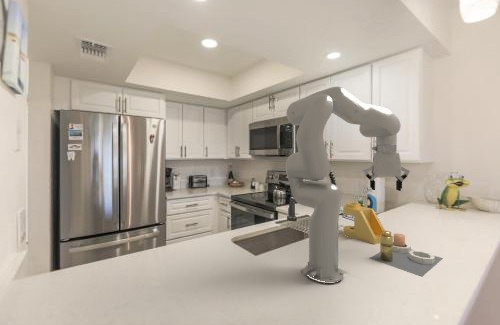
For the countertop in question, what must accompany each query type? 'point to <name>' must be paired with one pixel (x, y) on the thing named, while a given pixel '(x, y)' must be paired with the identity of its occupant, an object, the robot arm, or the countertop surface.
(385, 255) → the gold rounded cylinder
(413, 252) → the white octagonal ring
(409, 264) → the mat
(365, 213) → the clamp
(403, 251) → the joined fitting
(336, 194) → the robot arm
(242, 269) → the countertop surface
